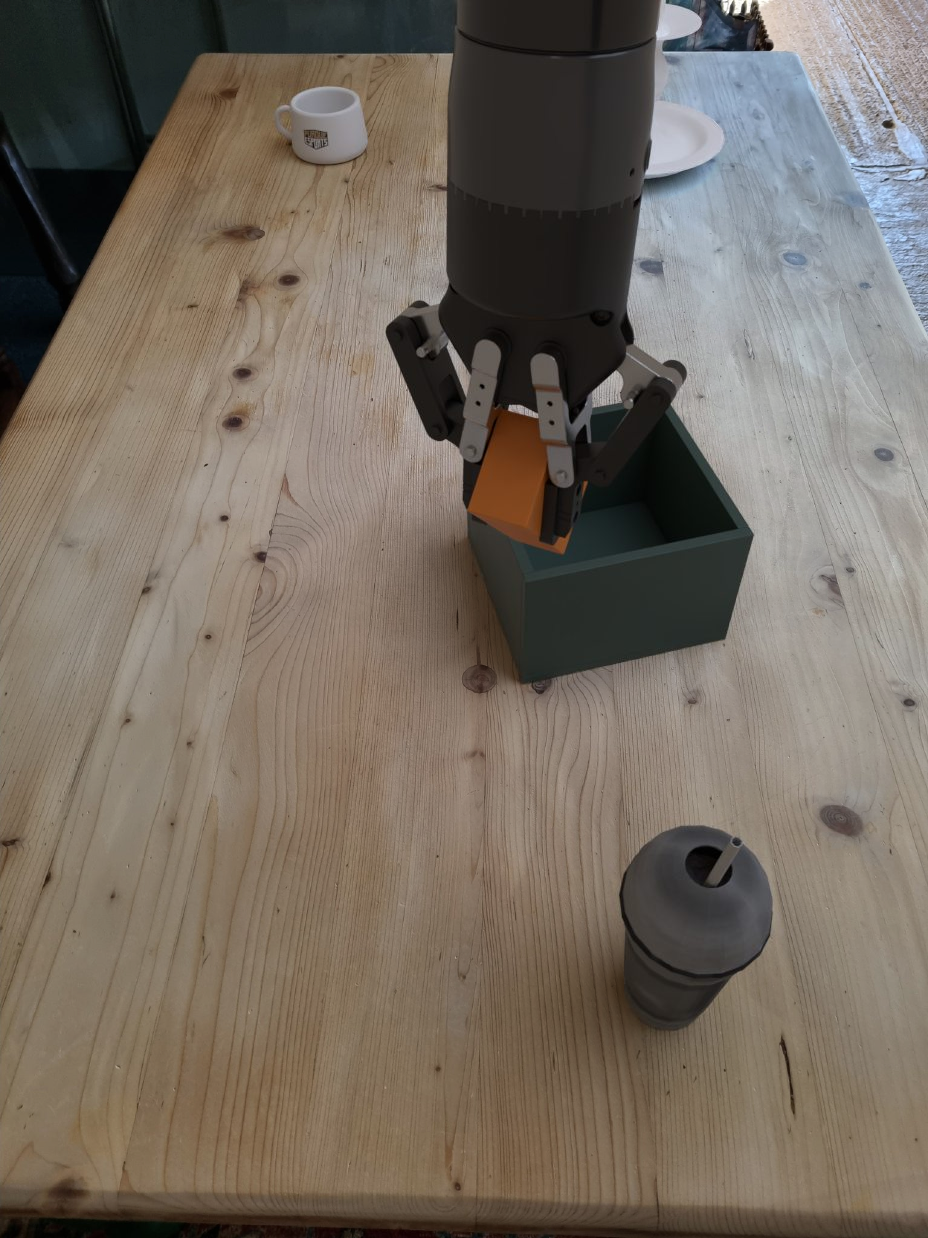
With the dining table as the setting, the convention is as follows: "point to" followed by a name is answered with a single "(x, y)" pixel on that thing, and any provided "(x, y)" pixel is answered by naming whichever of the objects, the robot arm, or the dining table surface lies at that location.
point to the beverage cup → (690, 921)
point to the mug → (325, 125)
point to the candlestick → (678, 108)
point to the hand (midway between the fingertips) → (520, 523)
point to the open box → (623, 562)
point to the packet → (515, 481)
